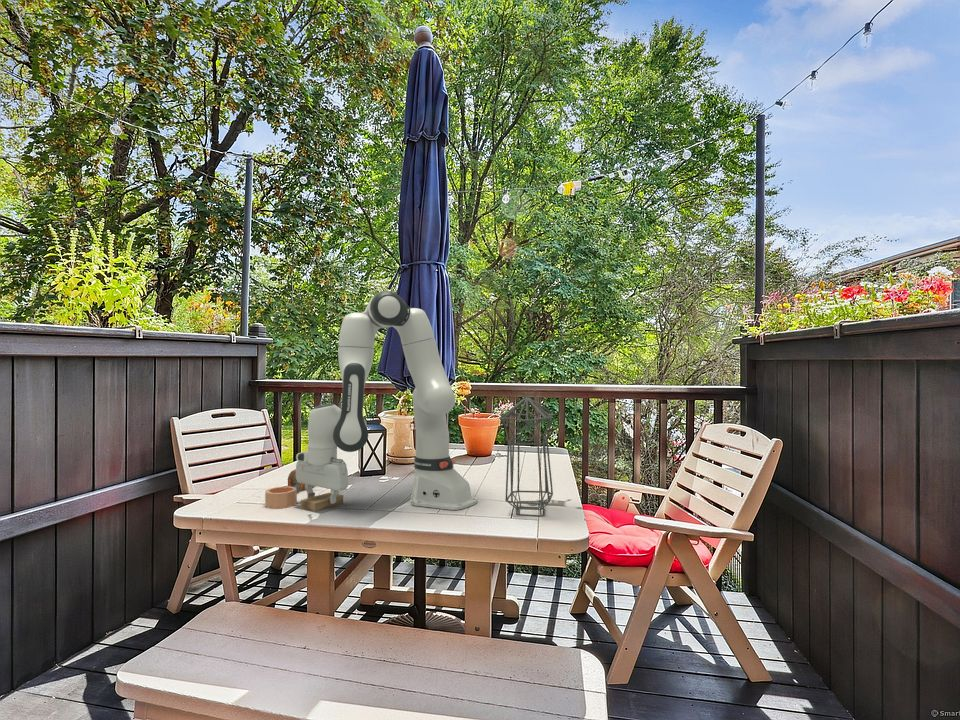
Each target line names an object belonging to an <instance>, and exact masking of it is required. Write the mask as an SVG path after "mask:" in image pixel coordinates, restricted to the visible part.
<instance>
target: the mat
mask: <svg viewBox="0 0 960 720" xmlns="http://www.w3.org/2000/svg"><path fill="white" fill-rule="evenodd" d="M350 505H351V503H347V502H343V503H342V504H339V505H336V506H332V507H329V508H326V509H323V510H319V511H316V512H314V511H310V510H306V509H301V504H300V505H297V506H293V508H294V509H298V510H303V511H306V512H309V513H310V512H311V513H315V514H319V515H321V514H325V513H327V512H331V511H334V510H336V509H337V510H338V509H340V508H343V507H347V506H350Z"/></svg>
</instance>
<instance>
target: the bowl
mask: <svg viewBox="0 0 960 720" xmlns="http://www.w3.org/2000/svg"><path fill="white" fill-rule="evenodd" d="M264 491H265V494H264V504H265V508H267V509H275V510H277V509H279V510H280V509H287V508H290V507H295V506H296V504H297V500H298V494H297V489H296V488H295V487H288V486H275V487H271V488H268V489H266V490H264Z"/></svg>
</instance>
